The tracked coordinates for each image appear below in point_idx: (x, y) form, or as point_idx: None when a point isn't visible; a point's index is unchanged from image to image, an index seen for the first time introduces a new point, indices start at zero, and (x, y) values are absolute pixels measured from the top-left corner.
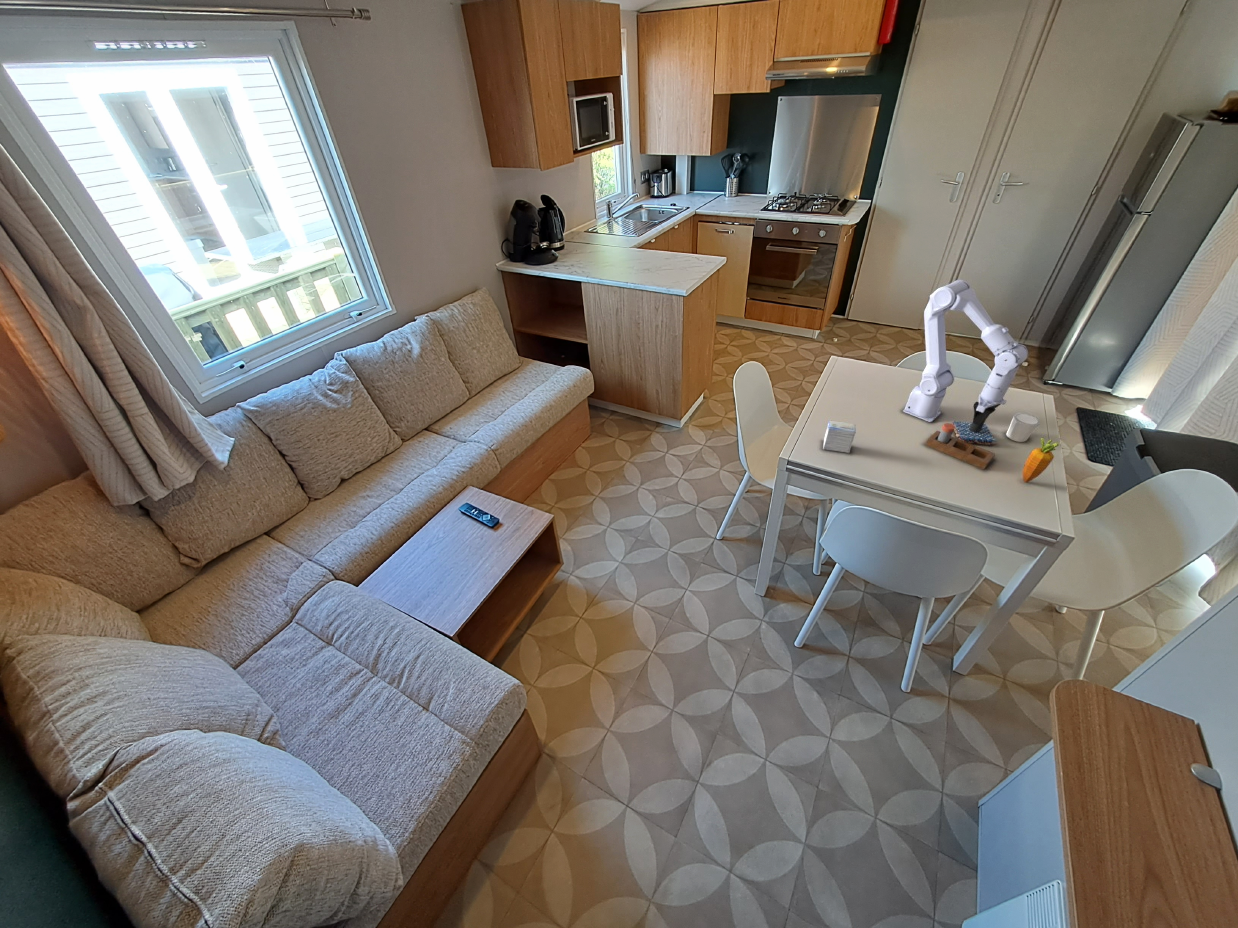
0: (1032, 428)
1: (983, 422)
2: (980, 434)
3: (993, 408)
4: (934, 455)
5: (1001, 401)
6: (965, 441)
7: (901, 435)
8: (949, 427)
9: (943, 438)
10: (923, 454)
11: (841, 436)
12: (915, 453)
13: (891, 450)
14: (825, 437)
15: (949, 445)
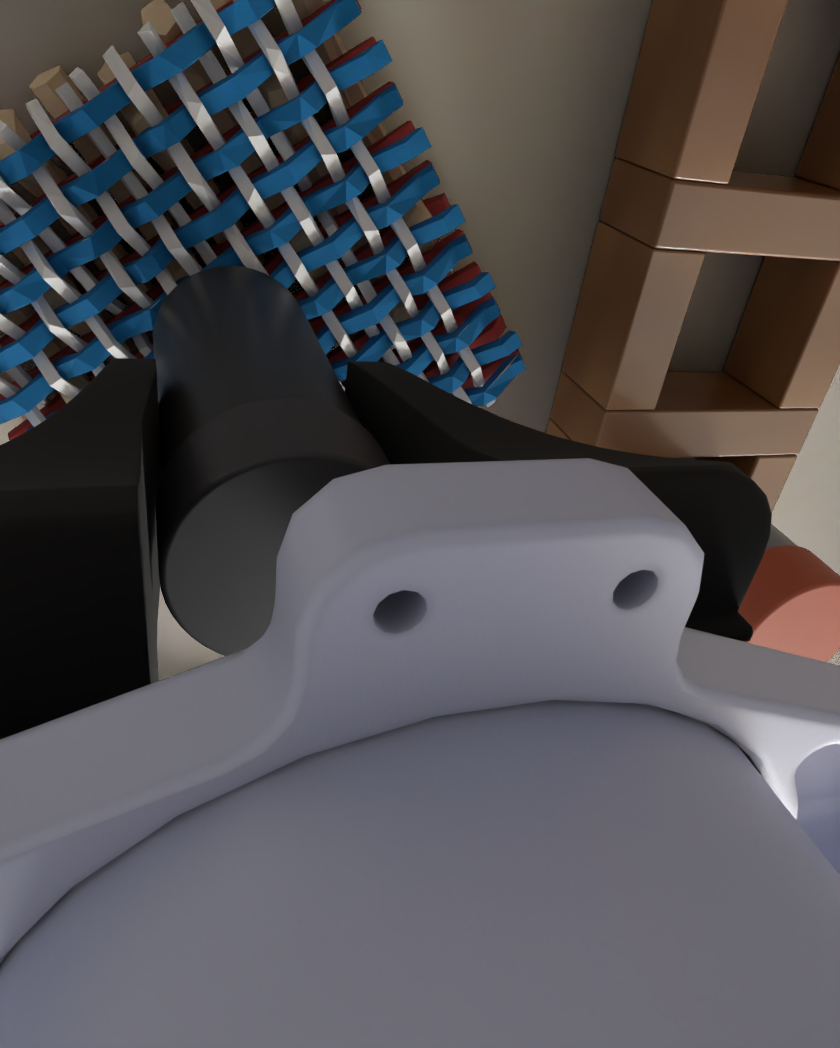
0: None
1: (307, 355)
2: (280, 229)
3: (142, 492)
4: (810, 442)
5: (601, 680)
6: (498, 323)
7: None
8: (829, 625)
9: None
10: (821, 505)
11: None
12: (825, 548)
13: (836, 654)
14: None
15: (775, 431)
